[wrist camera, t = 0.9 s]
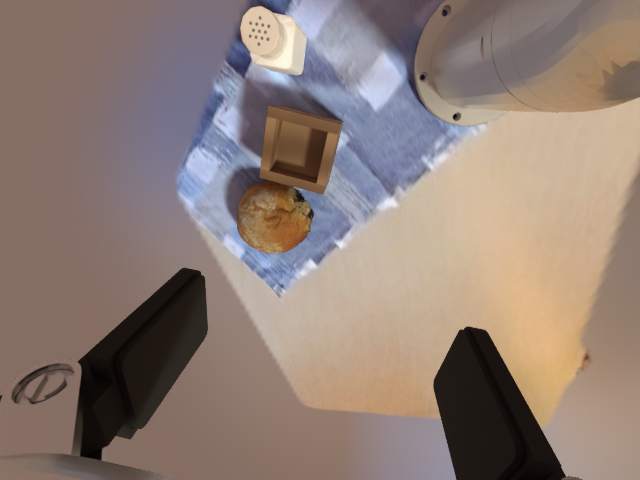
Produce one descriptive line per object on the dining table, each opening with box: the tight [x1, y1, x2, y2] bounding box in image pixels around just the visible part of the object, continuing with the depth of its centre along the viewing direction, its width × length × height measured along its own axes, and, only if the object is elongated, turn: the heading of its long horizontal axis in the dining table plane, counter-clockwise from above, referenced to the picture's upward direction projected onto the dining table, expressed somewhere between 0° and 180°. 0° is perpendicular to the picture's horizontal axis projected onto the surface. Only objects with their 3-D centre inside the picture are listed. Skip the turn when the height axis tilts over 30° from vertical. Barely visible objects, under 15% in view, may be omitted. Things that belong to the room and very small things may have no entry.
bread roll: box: [237, 180, 314, 254], centre depth 37 cm, size 10×10×8 cm
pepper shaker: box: [240, 6, 307, 75], centre depth 26 cm, size 4×4×10 cm
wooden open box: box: [259, 106, 343, 194], centre depth 32 cm, size 7×7×6 cm
